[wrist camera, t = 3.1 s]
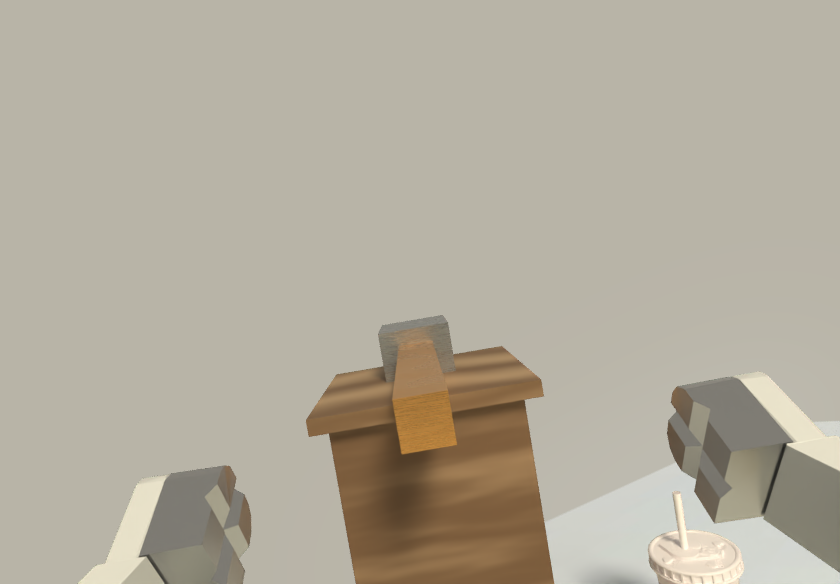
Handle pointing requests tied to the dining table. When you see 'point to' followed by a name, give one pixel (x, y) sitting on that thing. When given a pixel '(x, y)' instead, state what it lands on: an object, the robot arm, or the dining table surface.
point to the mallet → (419, 381)
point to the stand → (440, 479)
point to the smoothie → (694, 555)
